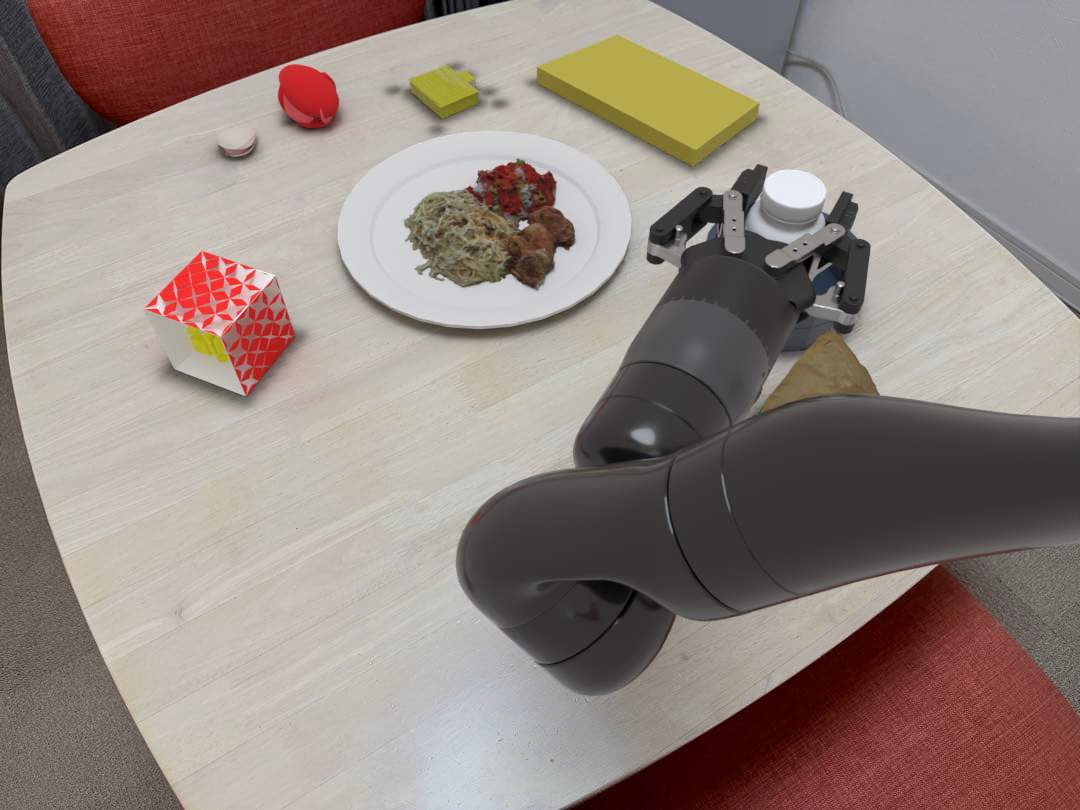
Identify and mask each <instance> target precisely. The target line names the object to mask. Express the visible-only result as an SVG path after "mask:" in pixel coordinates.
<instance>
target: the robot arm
mask: <svg viewBox="0 0 1080 810" xmlns="http://www.w3.org/2000/svg"><path fill="white" fill-rule="evenodd" d="M768 170H769V166H766V165H763V164H761V163H757V164H755V167H754V168H753V169H751V168H746V169H744V170H742V171H741V173H740V175H739V176H738V177H737V179H736V181H735V182H734V183H733V185H732V186H731V187H730V189H728V190H725V191H724V192H723V194H716V193H715V194H714V192H713V190H712V189H711V188H709V187H707V186H698V187H696V188H695V189H694V190H692V191H691V192H690V193H689V194H687V195H686V196H685V197H684V198H683V199H682V200H680V201H679V202H678V203H676V204H675V205H674V206H673V207H672V208H670V209H669V210H668V211H667V212H666V213H665V214H663V215H662V216H661V217H659V218H658V219H657V220H656V221H655V222H653V223H652V224H651V225H650V227H649V233H648V238H647V247H646V258H645V259H646V261H647V262H648V263H649V264H651V265H655V266H658V265H661V264H663V263H665V262H667V263H669V264H671V265H673V266H674V267H676V268H678V273H677V274H676V276H675V277H674V278H673V280H672V281H671V283H670V284H669V286H668V287H667V289H666V290H665V291H664V293H663V295H662V296H661V298H660V299H659V301H658V302H657V304H656V305H655V307H654V308H653V309H652V311H651V312H650V314H649V315H648V316H647V318H646V320H645V321H644V323H643V325H642V326H641V327H640V329H639V330H638V332H637V334H636V335H635V336H634V338H633V339H632V342H631V343H630V344H629V346H628V348H627V350H626V352H625V355H624V356H623V359H622V361H621V363H620V366H619V367H618V369H617V371H616V373H615V375H614V376H613V377H612V379H611V380H610V382H609V384H608V385H607V387H606V388H605V390H604V391H603V393H602V394H601V396H600V397H599V399H598V400H597V402H596V403H595V404H594V406H593V407H592V409H591V411H590V412H589V413H588V415H587V416H586V418H585V419H584V421H583V423H582V425H581V426H580V428H579V430H578V432H577V433H576V435H575V437H574V438H575V439H574V440H573V441H574V442H573V446H572V460H573V464H574V467H568V468H563V469H557V470H551V471H546V472H542V473H537V474H534V475H531V476H529V477H525V478H523V479H521V480H518V481H516V482H513V483H512V484H510V485H508V486H506V487H504V488H502V489H501V490H499V491H497V492H496V493H495V494H493V495H492V496H491V497H489V498H488V499H487V500H486V501H485V502H484V503H482V504H481V505H480V506H479V508H477V510H475V511H474V513H473V514H472V516H471V517H470V518H469V519H468V521H467V523H466V525H465V526H464V528H463V530H462V532H461V535H460V538H459V541H458V543H457V546H456V553H455V572H456V576H457V581H458V583H459V586H460V588H461V590H462V592H463V594H464V595H465V596H466V597H467V599H468V600H469V601H470V603H471V604H472V605H473V606H474V607H475V609H477V611H478V612H480V613H481V614H482V615H483V616H484V617H485V618H486V619H487V620H488V621H490V623H492V624H493V625H494V626H495V627H496V628H498V629H499V630H500V632H502V633H503V634H504V635H505V636H506V637H507V638H508V639H509V640H510V641H511V642H513V643H514V644H515V645H516V646H517V647H518V648H519V649H520V650H521V651H522V652H523V653H525V655H526V656H528V658H529V659H531V660H532V661H533V662H534V663H535V664H536V665H537V666H538V667H539V668H540V669H541V670H543V671H544V672H545V673H546V674H547V675H548V676H549V677H550V678H551V679H552V680H554V681H555V682H556V683H557V684H558V685H560V686H561V687H563V688H564V689H566V690H567V691H569V692H571V693H573V694H576V695H579V696H583V697H602V696H606V695H609V694H612V693H615V692H617V691H620V690H622V689H623V688H625V687H627V686H628V685H629V684H631V683H633V682H634V681H636V680H637V679H638V678H639V677H640V676H641V675H642V674H643V673H644V672H645V671H646V670H647V669H648V668H649V667H650V666H651V665H652V663H653V662H654V661H655V659H657V657H658V655H659V654H660V653H661V651H662V649H663V648H664V646H665V644H666V642H667V640H668V639H669V637H670V634H671V632H672V629H673V626H674V623H675V621H676V619H677V616H678V617H680V618H683V619H685V620H689V621H694V622H699V623H700V622H701V623H702V622H703V623H707V622H708V623H711V622H719V621H724V620H729V619H732V618H737V617H741V616H744V615H748V614H751V613H753V612H759V611H762V610H766V609H768V608H773V607H775V606H779V605H783V604H786V603H790V602H793V601H797V600H800V599H804V598H808V597H811V596H813V595H817V594H818V595H819V594H821V593H824V592H825V593H826V592H828V591H831V590H834V589H835V590H836V589H838V588H842V587H845V586H848V585H851V584H855V583H858V582H862V581H867V580H871V579H875V578H879V577H883V576H888V575H893V574H895V573H896V574H897V573H901V572H904V571H910V570H916V569H920V568H926V567H930V566H936V565H940V564H946V563H952V562H959V561H965V560H971V559H977V558H984V557H990V556H991V557H992V556H998V555H1005V554H1011V553H1018V552H1026V551H1033V550H1040V549H1046V548H1047V549H1048V548H1053V547H1054V548H1055V547H1061V546H1068V545H1074V544H1080V417H1079V416H1074V417H1070V416H1069V417H1062V416H1050V415H1049V416H1048V415H1046V416H1045V415H1034V414H1022V413H1009V412H1001V411H995V410H994V411H993V410H986V409H980V408H971V407H964V406H959V405H958V406H957V405H951V404H946V403H941V402H933V401H927V400H922V399H915V398H907V397H898V396H889V395H883V394H880V395H874V394H836V395H825V396H818V397H811V398H805V399H801V400H797V401H793V402H789V403H785V404H782V405H779V406H777V407H774V408H771V409H768V410H766V411H763V412H761V413H759V412H758V413H757V414H754V415H753V416H750V417H748V418H746V417H747V416H748V415H749V413H750V412H751V410H752V407H753V405H755V404H756V403H757V401H758V400H759V398H760V397H761V395H762V393H763V389H764V384H765V383H766V381H767V379H768V377H769V375H770V374H771V371H772V369H773V368H774V366H775V364H776V362H777V360H778V358H779V357H780V354H781V353H782V349H783V347H784V345H785V343H786V341H787V339H788V337H789V336H790V334H791V332H792V330H793V328H794V327H795V326H796V325H798V324H799V323H801V322H804V321H805V320H807V319H808V318H809V316H813V317H818V318H823V319H827V320H832V321H833V324H832V326H833V329H834V330H835V331H836V332H838V333H837V334H840V335H841V334H842V335H848V334H850V333H852V332H853V330H854V328H855V325H856V323H857V320H858V317H859V315H860V313H861V310H862V308H863V304H864V303H865V296H866V289H867V279H868V271H869V265H870V256H871V249H872V247H871V243H870V242H869V241H867V240H866V239H863V238H857V239H854V240H852V239H851V238H849V236H848V234H849V232H850V231H851V230H852V228H853V227H854V223H855V220H856V218H857V215H858V213H859V203H857V202H854V201H853V197H854V193H851V192H849V191H846V190H845V191H844V190H842V191H841V194H840V195H839V197H838V199H837V200H836V202H835V204H834V206H833V208H832V209H831V211H830V213H829V217H828V219H827V220H826V223H825V227H824V228H822V229H820V230H819V231H817V232H816V233H814V234H813V235H811V234H810V233H806V234H805V235H803V236H801V237H800V238H798V239H797V240H795V241H793V242H792V243H790V244H787V243H784V242H780V241H774V240H768V239H766V238H764V237H762V236H761V235H759V234H757V233H754V232H751V231H749V230H746V229H745V231H744V219H745V217H746V216H747V214H748V212H749V210H750V208H751V207H752V206H753V205H754V203H755V202H757V201H758V199H759V198H760V196H761V192H762V189H763V185H764V182H765V180H766V179H767V174H768ZM708 224H718V237H717V238H714V239H711V240H708V241H707V240H705V241H702V242H699V243H696V244H694V245H690V246H688V247H687V243H688V242H689V241H690V240H691V239H692V238H693V237H695V236H696V235H697V234H698V233H699V232H701V231H702V230H703V229H704V228H705V227H706V226H707V225H708ZM832 264H834V265H835V266H837V267H838V268H840V269H841V272H840V278H839V282H837V284H836V286H832V287H830V288H829V289H828V291H827V293H825V294H823V295H816V292H815V289H814V287H813V285H812V281H813V279H814V277H815V276H816V275H817V274H818V273H820V272H821V271H823V270H824V269H826V268H827V267H829V266H830V265H832ZM745 418H746V419H745Z"/></svg>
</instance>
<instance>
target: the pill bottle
mask: <svg viewBox="0 0 1080 810" xmlns="http://www.w3.org/2000/svg"><path fill="white" fill-rule="evenodd" d="M827 193H828V191H827V188H826V185H825V184H824V182H823V181H822V180H821V179H820V178H818V177H817V176H816V175H814V174H812V173H810V172H807V171H805V170H800V169H792V168H791V169H790V168H789V169H782V170H781V169H780V170H777V171H775V172H772V173H771V174H769V175H768V176H766V178H765V182H764V185H763V189H762V192H761V194H760V196H759V198H760V199H759V200H756V203H755V204H754V205H753V206H752V207H751V208H750V210H749V212H748V214H747V217H746V220H745V225H744V231H745V229H746V230H749V231H751V232H754V233H757V234H759V235H761V236H762V237H764V238H766V239H768V240H774V241H780V242H784V243H787V244H790V243H792V242H793V241H795V240H797V239H798V238H800V237H801V236H803V235H805V234H806V233H810V234H811V235H813V234H814V233H816V232H817V231H819V230H820V229H822V228H824V227H825V223H826V222H825V218H824V216H823V214H822V212H823V210H824V209H823V208H824V205H825V202H826V198H827Z"/></svg>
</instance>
